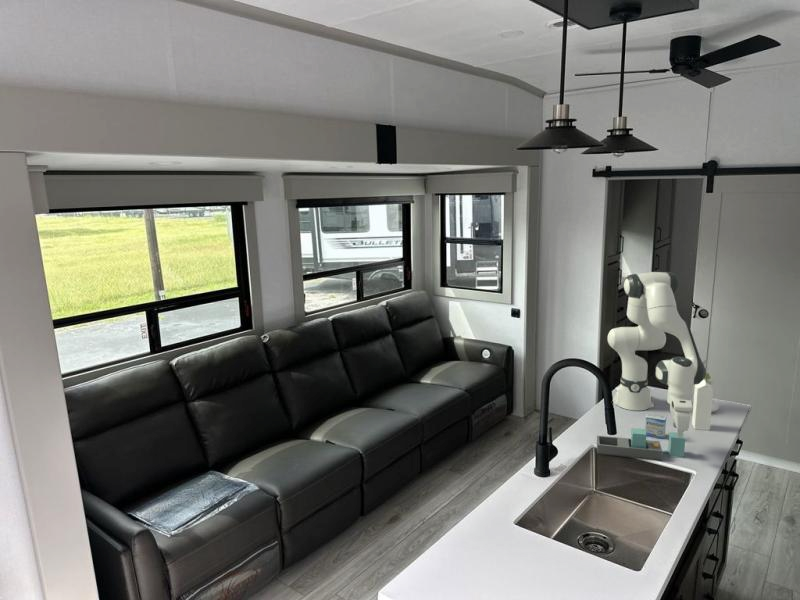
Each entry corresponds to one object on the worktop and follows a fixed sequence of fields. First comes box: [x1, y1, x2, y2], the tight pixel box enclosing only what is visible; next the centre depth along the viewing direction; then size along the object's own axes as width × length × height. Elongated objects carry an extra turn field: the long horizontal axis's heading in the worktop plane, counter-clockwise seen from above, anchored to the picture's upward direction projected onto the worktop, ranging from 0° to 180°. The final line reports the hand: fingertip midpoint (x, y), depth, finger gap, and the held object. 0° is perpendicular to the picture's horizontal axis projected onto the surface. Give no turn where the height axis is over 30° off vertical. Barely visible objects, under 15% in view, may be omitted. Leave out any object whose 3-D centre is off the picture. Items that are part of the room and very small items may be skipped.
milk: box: [691, 379, 714, 431], centre depth 243 cm, size 6×6×22 cm
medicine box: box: [644, 413, 667, 440], centre depth 238 cm, size 8×4×9 cm, turn 62°
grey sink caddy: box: [596, 427, 663, 461], centre depth 225 cm, size 9×24×10 cm, turn 73°
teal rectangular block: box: [667, 431, 686, 458], centre depth 222 cm, size 5×5×8 cm
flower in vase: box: [692, 359, 720, 413], centre depth 260 cm, size 13×11×25 cm
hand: (677, 431), depth 221 cm, fingers open, 8 cm apart
